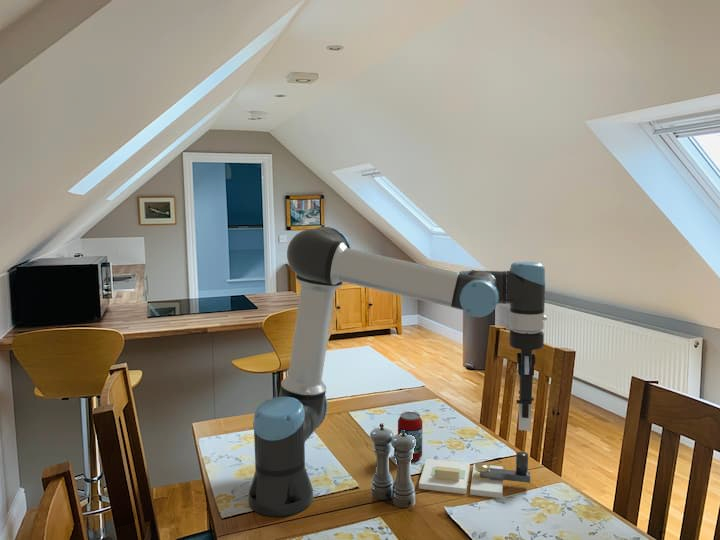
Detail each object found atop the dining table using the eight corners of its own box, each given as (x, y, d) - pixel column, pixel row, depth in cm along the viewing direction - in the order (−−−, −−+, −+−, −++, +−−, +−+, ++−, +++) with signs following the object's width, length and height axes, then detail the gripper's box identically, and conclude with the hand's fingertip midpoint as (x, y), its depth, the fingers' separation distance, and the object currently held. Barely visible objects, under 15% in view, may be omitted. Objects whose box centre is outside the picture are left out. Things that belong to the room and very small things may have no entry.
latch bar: (474, 477, 144) (475, 452, 143) (475, 471, 147) (475, 446, 146) (530, 483, 140) (530, 458, 139) (529, 477, 144) (530, 451, 143)
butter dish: (466, 494, 139) (466, 479, 139) (418, 488, 142) (418, 473, 142) (469, 468, 153) (470, 454, 152) (426, 463, 155) (426, 450, 155)
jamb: (502, 498, 137) (502, 491, 137) (470, 494, 139) (470, 487, 139) (502, 471, 151) (503, 465, 150) (473, 468, 152) (473, 462, 152)
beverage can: (402, 463, 155) (402, 421, 154) (394, 453, 162) (394, 412, 160) (426, 460, 157) (426, 418, 156) (417, 450, 164) (417, 409, 162)
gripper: (545, 337, 124) (543, 441, 127) (542, 324, 137) (539, 420, 140) (509, 335, 126) (507, 438, 129) (509, 323, 139) (508, 417, 142)
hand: (524, 429), depth 134 cm, fingers closed
